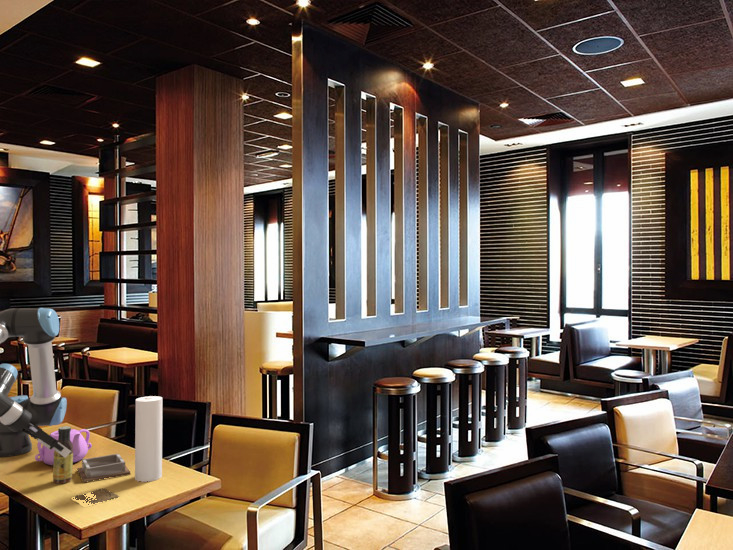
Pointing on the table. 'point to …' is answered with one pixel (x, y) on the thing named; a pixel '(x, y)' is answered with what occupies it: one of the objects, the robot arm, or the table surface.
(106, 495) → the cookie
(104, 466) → the grey square tray
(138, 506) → the table surface
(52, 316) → the robot arm
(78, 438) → the teapot
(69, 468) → the sauce bottle
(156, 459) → the cylinder container
